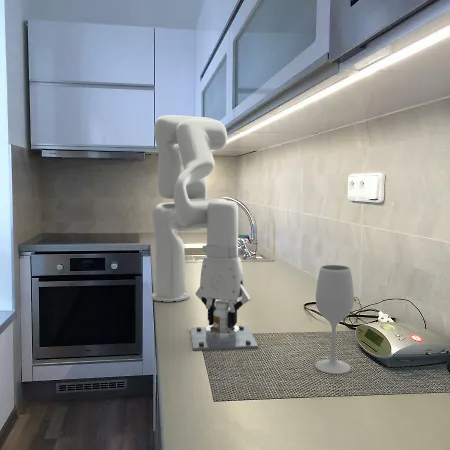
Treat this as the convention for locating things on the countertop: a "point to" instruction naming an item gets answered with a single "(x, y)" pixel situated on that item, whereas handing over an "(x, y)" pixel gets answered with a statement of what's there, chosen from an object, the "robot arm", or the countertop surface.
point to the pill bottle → (221, 316)
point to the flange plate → (203, 343)
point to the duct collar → (222, 334)
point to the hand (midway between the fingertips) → (222, 324)
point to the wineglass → (334, 308)
